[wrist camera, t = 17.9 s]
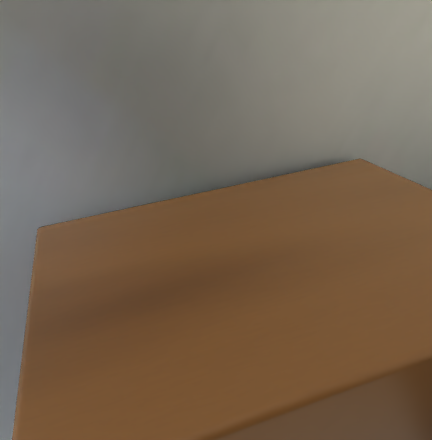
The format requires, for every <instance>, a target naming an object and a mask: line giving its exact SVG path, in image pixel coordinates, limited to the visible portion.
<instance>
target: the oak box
mask: <svg viewBox="0 0 432 440" xmlns="http://www.w3.org/2000/svg"><path fill="white" fill-rule="evenodd" d="M12 440H432V190H431V189H429V188H426V187H424V186H422V185H420V184H417V183H415V182H413V181H411V180H408V179H406V178H404V177H401V176H399V175H397V174H395V173H392V172H390V171H388V170H386V169H383V168H381V167H379V166H377V165H374V164H372V163H370V162H368V161H365V160H363V159H356V160H351V161H346V162H342V163H337V164H332V165H328V166H323V167H318V168H314V169H309V170H304V171H300V172H295V173H290V174H286V175H281V176H276V177H272V178H267V179H262V180H258V181H253V182H248V183H244V184H239V185H234V186H230V187H225V188H220V189H216V190H211V191H206V192H202V193H197V194H192V195H188V196H183V197H178V198H174V199H169V200H164V201H160V202H155V203H150V204H146V205H141V206H136V207H132V208H127V209H122V210H118V211H113V212H108V213H104V214H99V215H94V216H90V217H85V218H80V219H76V220H71V221H66V222H62V223H57V224H52V225H48V226H43V227H40V228H38V229H37V236H36V244H35V252H34V261H33V269H32V277H31V286H30V294H29V302H28V311H27V319H26V327H25V335H24V344H23V352H22V360H21V369H20V377H19V385H18V394H17V402H16V410H15V419H14V427H13V435H12Z"/></svg>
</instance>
